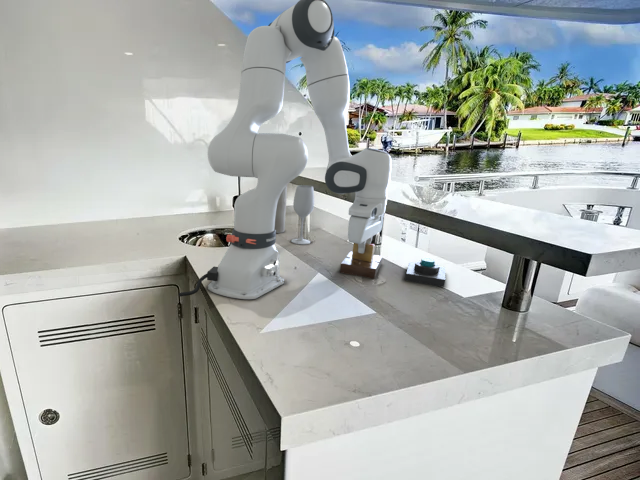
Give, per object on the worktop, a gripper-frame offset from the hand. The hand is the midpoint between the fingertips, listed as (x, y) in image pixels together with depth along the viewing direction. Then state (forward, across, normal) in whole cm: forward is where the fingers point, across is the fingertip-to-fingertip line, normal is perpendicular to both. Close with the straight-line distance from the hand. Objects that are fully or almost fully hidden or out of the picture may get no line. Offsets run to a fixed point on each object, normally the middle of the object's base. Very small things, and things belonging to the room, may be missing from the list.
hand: (363, 251), depth 116 cm
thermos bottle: (+6, -24, -46) cm, 52 cm away
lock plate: (+6, 0, 0) cm, 6 cm away
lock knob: (+3, 0, 0) cm, 3 cm away
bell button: (+2, -5, +17) cm, 18 cm away
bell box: (+6, -5, +17) cm, 19 cm away
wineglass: (+6, -15, -29) cm, 33 cm away
